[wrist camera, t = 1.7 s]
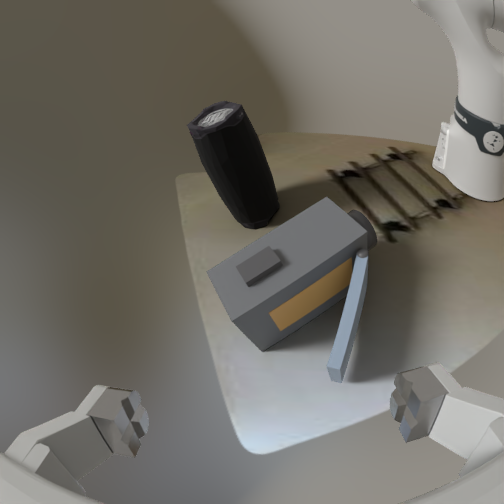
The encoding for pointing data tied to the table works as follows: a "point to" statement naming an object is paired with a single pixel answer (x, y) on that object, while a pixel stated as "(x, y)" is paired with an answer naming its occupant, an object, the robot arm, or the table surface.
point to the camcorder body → (292, 272)
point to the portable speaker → (235, 163)
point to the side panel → (349, 318)
